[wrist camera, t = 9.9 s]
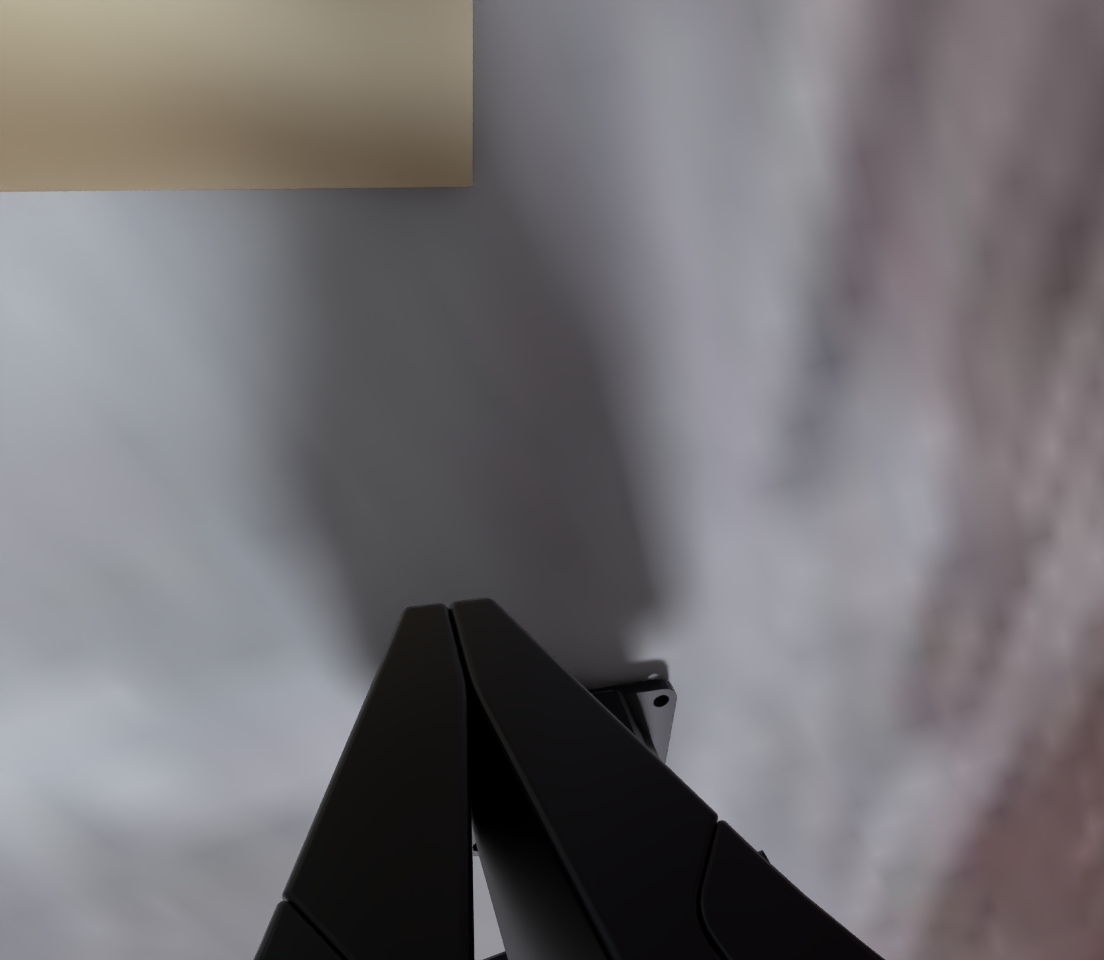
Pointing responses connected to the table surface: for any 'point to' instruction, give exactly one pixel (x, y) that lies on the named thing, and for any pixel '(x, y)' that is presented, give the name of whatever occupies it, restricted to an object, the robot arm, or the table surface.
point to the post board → (235, 94)
